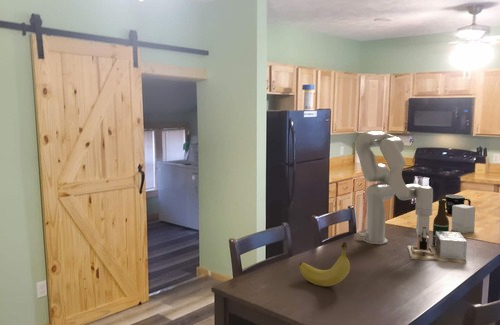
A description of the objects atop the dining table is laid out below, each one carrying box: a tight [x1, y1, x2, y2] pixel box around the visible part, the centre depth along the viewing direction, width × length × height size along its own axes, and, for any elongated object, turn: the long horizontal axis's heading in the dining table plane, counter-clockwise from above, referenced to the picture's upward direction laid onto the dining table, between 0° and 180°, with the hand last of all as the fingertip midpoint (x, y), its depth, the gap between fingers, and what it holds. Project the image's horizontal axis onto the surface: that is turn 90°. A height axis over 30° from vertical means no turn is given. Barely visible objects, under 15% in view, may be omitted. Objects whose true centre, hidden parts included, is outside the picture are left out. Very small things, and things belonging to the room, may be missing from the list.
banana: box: [298, 241, 351, 287], centre depth 167 cm, size 23×6×20 cm, turn 50°
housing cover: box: [434, 231, 468, 261], centre depth 202 cm, size 11×16×9 cm
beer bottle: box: [432, 199, 450, 245], centre depth 220 cm, size 8×8×24 cm
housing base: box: [407, 245, 467, 264], centre depth 204 cm, size 24×18×2 cm
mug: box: [439, 194, 472, 214], centre depth 292 cm, size 16×16×12 cm
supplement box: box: [451, 204, 476, 234], centre depth 246 cm, size 9×9×15 cm
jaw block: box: [416, 234, 430, 250], centre depth 205 cm, size 5×5×6 cm
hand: (422, 247), depth 205 cm, fingers closed on jaw block, 4 cm apart
